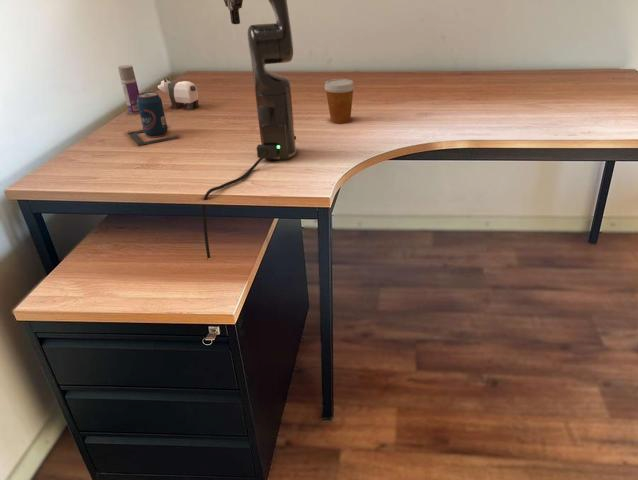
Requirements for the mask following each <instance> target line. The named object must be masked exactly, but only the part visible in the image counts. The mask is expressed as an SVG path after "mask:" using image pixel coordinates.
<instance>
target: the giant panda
mask: <svg viewBox="0 0 638 480" xmlns="http://www.w3.org/2000/svg"><path fill="white" fill-rule="evenodd" d="M157 89H159V90H160V92H162V93H163V94H165V95H169V100H170V103H171V107H170V108H171V109H179V106H180V107H182V106H185V104H186V110H190V111H192V110H194V108H198V107H199V92H198V89H197V86H196V85H195V84H194V83H193V82H192V81H188V80H183V81H173V82H171V80H170V78H169V77H166V78H164V79H162V81H160V84H158V85H157Z"/></svg>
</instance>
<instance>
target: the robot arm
mask: <svg viewBox="0 0 638 480" xmlns="http://www.w3.org/2000/svg"><path fill="white" fill-rule="evenodd" d="M267 1H268V2H269V4H270V7H271V9H272V11H273V13H274V17H275V22H273V23H259V24H251V25H249V26H248V29H247V32H246V33H247V37H246V38H247V45H248V51H249V55H250V56H249V58H250V63H251V70H252V76H253V77H252V78H253V84H254V94H255V102H256V103H255V104H256V112H257V119H258V127H259V129H258V130H259V136H260V144H257V146H256V155H257V160H256V162H255V163H253V165H252V166H251V167H250V168H249V169H248V170H247V171H246V172H245V173H244V174H243V175H241V176H239V177H238V178H235V179H232V180H230V181H228V182H227V181H226V183H223V184H221V185H218V186H215V187H212V188H210V189H208V191H206V193H205V195H204V196H203V198H202V201H207V200H208V198H209V195H210V194H211V193H213V192H215V191H218V190H221V189H223V188H226V187H228V186H230V185H234V184H236V183H238V182H240V181H242V180H243V179H245V178H246V177H248V176H249V175H250V174H251V172H252V171H253V170H254V169H256V167H257V166H258V165H259V164H260V163H261V161H262V160H264V159H265V160H266V161H268V160H269V161H282V160H283V161H287V160H289V159H290V158H292V157H294V156H296V155H297V148H296V141H297V136H296V134H295V125H294V111H293V102H292V89H291V88H292V87H291V81H290V79H289V78H288V77H286V76H283V75H280V74H277V73H274V72H271V71H269V70H268V69H266V65H273V64H284V63H289V62H291V61H292V60H293V57H294V42H293V33H292V28H291V27H292V26H291V20H290V13H289V7H288V0H267ZM223 2H224V5H225V7H226V8H228V10H229V17H230V23H231V24H232V25H240V24H241V18H240V9H242V8H243V2H244V0H223ZM201 209H202V221H203V234H204V244H205V251H206V257H207V259H208V258H211V252H210V245H209V236H208V224H207V222H208V221H207V210H206V209H207V208H206V205H202V207H201Z"/></svg>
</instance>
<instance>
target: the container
mask: <svg viewBox="0 0 638 480" xmlns="http://www.w3.org/2000/svg"><path fill="white" fill-rule="evenodd" d="M117 69H118V74H119V78H120V83H121V87H122V91H123V94H124V99H125V103H126V106H127V107H126V108H127V111H128V114H130V115H140V113H139V109H138V104H137V99H138V94H140V90H139V87H138V82H137V78H136V75H135V71H134V67H133V64H132V65H131V64H123V65H119V66H118V67H117Z"/></svg>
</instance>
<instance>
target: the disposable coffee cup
mask: <svg viewBox="0 0 638 480" xmlns="http://www.w3.org/2000/svg"><path fill="white" fill-rule="evenodd" d="M323 88H324V90H325V93H326V99H327V105H328V111H329V116H330V122H331V123H334V124H346V123H349V122H351V117H352V107H353V105H352V104H353V95H354V89H355V84H354V81H353V80H351V79H347V78H332V79H328V80H326V81H325V83H324V86H323Z"/></svg>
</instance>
